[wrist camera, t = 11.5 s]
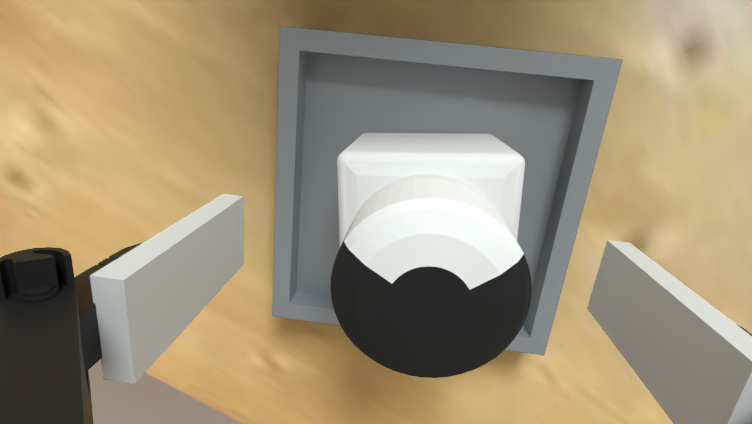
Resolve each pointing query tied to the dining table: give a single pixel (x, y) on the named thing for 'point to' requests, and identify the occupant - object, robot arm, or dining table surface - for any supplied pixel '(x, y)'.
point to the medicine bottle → (430, 250)
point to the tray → (431, 115)
